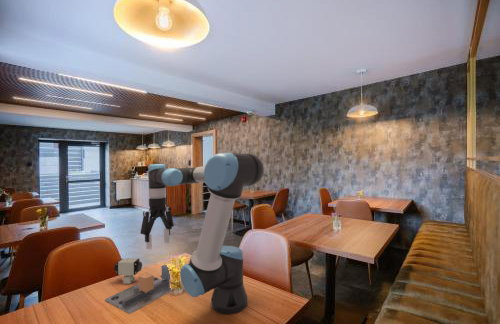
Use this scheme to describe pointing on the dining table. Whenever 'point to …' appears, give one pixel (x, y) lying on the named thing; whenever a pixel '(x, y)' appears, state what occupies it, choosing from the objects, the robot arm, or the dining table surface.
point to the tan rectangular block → (146, 282)
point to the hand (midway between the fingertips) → (158, 245)
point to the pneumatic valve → (128, 269)
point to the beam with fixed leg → (141, 294)
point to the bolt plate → (138, 304)
